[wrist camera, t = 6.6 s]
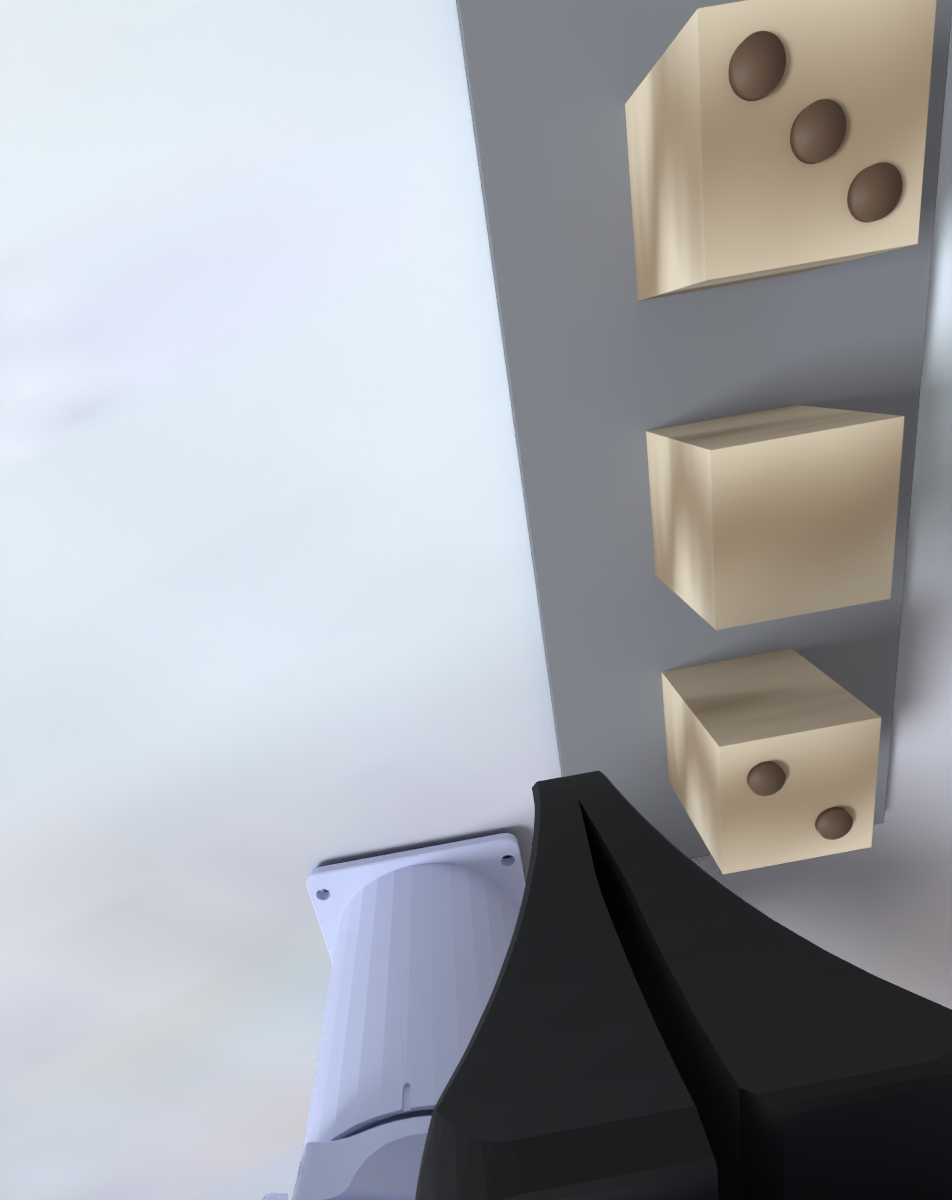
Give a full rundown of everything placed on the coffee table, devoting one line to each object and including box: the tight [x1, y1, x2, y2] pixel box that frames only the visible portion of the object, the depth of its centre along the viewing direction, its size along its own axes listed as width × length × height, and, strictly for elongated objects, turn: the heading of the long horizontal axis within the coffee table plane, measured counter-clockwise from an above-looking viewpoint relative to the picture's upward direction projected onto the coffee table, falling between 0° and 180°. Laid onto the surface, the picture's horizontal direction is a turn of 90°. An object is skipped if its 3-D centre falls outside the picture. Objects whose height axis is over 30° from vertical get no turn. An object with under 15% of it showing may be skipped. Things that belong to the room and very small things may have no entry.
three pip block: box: [625, 0, 936, 301], centre depth 14 cm, size 4×4×5 cm
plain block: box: [646, 405, 904, 630], centre depth 17 cm, size 4×4×4 cm
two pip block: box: [662, 648, 881, 874], centre depth 20 cm, size 4×4×5 cm
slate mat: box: [456, 0, 952, 859], centre depth 20 cm, size 28×12×1 cm, turn 9°
